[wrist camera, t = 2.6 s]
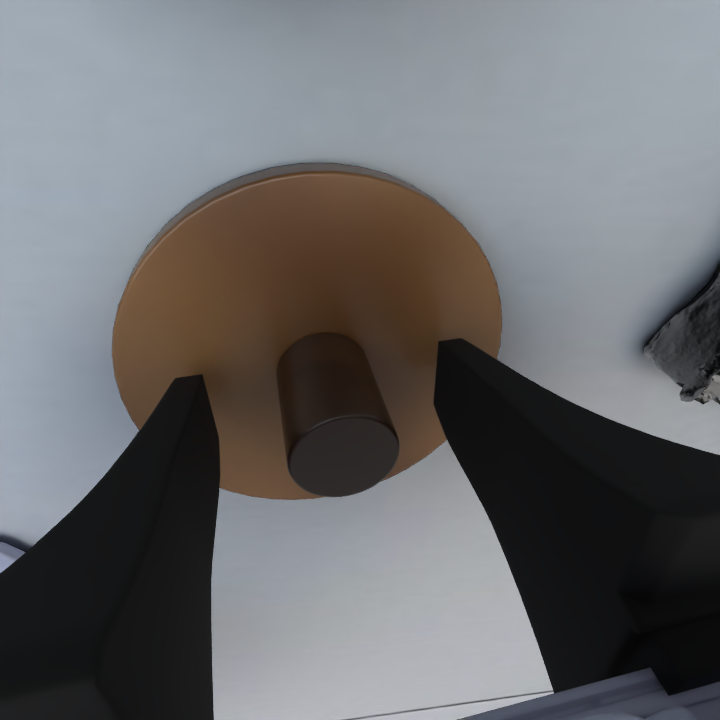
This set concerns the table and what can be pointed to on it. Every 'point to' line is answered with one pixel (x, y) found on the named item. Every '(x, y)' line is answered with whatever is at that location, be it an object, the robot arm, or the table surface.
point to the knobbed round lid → (306, 324)
